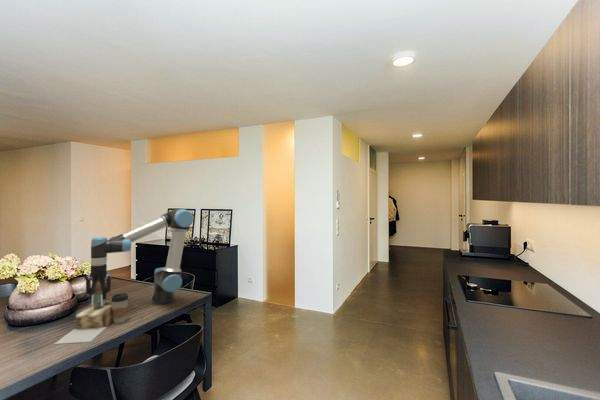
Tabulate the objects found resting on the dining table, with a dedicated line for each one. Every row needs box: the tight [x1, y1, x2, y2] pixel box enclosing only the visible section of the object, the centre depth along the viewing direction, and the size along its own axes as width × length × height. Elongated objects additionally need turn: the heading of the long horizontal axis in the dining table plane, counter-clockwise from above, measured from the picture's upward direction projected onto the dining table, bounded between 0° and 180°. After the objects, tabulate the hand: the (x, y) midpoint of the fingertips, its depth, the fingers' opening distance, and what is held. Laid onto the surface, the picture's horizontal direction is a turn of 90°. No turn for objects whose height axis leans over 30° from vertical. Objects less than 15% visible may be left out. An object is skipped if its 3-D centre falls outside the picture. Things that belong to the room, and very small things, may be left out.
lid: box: [75, 292, 112, 318], centre depth 161 cm, size 12×14×9 cm
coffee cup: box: [110, 293, 129, 325], centre depth 165 cm, size 8×8×15 cm
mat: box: [53, 326, 108, 345], centre depth 148 cm, size 16×16×1 cm
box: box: [75, 301, 114, 329], centre depth 164 cm, size 15×16×8 cm
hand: (98, 305), depth 164 cm, fingers closed on lid, 4 cm apart
